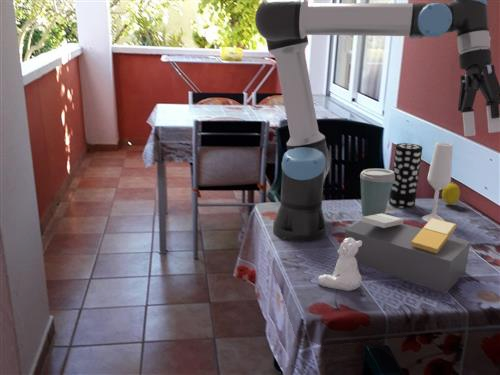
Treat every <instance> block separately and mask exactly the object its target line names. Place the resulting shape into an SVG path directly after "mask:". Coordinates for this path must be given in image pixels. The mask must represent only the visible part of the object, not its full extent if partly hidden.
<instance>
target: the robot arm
mask: <svg viewBox="0 0 500 375" xmlns="http://www.w3.org/2000/svg"><path fill="white" fill-rule="evenodd" d="M488 7H489V6H488V1H487V0H452V1H450V2H445V3H442V2H437V1H436V2H431V3H430V2H429V3H427V2H426V3H425V2H424V3H411V2H410V3H405V2H404V3H402V2H401V3H399V2H398V3H397V2H396V3H394V2H393V3H392V2H391V3H384V2H383V3H380V2H379V3H377V2H376V3H375V2H373V3H372V2H371V3H368V2H367V3H366V2H365V3H364V2H363V3H361V2H359V3H358V2H356V3H355V2H354V3H352V2H351V3H349V2H348V3H347V2H346V3H345V2H343V3H342V2H341V3H340V2H339V3H337V2H335V3H334V2H332V3H331V2H329V3H327V2H323V3H322V2H321V3H320V2H313V3H311V2H308V1H307V0H263V1H261V2H260V4H259V6H258V7H257V10H256V11H255V16H254V21H255V22H254V23H255V27H256V30H257V32H258V33H259V35H260V36H261V37H263V38H264V39H265V41H266V45H267V46H266V47H267V50H268V53H270V54H271V55H272V56H273V57H274V59H275V64H276V69H277V76H278V79H279V85H280V91H281V94H282V95H281V96H282V101H283V105H284V110H285V115H286V116H285V117H286V123H287V126H288V131H289V139H288V141H286V149H287V151H286V152H284V153H283V156H282V161H281V184H280V188H281V189H280V205H279V207H278V210H277V212H276V215H275V218H274V221H273V227H272V230H273V233H274V234H275V235H276V236H277V237H279V238H281V239H284V240H287V241H291V242H292V241H293V242H303V243H305V242H306V243H307V242H308V243H309V242H314V241H318V240H321V239H323V238H324V237H325V236H326V235H327V223H326V219H325V214H324V211H323V196H324V194H323V193H324V183H325V179H326V177H327V175H328V173H329V172H330V169H331V165H332V156H331V153H330V151H329V149H328V146H327V141H326V136H325V135H324V134H323V133H322V132H320V131H319V125H318V121H317V114H316V109H315V108H316V107H315V104H314V97H313V92H312V87H311V81H310V75H309V74H310V73H309V70H308V63H307V58H306V53H305V52H306V51H305V50H306V48H307V46H308V44H309V38H308V36H312V35H313V36H366V37H367V36H368V37H369V36H372V37H373V36H374V37H381V36H383V37H409V38H410V39H422V38H426V37H427V38H439V37H441V36H442V35H444V34H448V33H454V32H456V36H457V38H456V40H457V50H458V53H459V56H458V61H459V69H460V70H465V71H466V73H465V74H463V75H460V77H459V78H460V79H459V80H460V87H459V96H458V104H457V106H458V107H457V111H458V112H460V113H461V114H462V122H463V123H462V124H463V135H464V137H473V136H476V124H475V113H474V112H475V109H474V108H473V107H474V103H475V100H476V96H477V92H478V91H479V90H480V92H481V94H482V95H483V97H484V99H485V102H486V103H485V106H486V117H487V129H488V133H489V134H491V133H500V83H499V82H500V81H499V80H498V77H497V74H496V70H495V65H494V64H492V63H493V60H492V51H491V49H490V48H491V40H492V37H491V36H490V26H489V12H488Z"/></svg>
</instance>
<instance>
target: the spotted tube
mask: <svg viewBox="0 0 500 375" xmlns="http://www.w3.org/2000/svg"><path fill="white" fill-rule="evenodd" d="M394 147H395V149H394V156H393V157H394V158H393V167H392V171H394V175H395V181H394V182H393V185H392V189H391V192H390V196H389V199H388V204H389V205H390V206H392V207H394V208H398V209H412V208H415V206H416V205H415V204H416V197H417V191H418V184H419V177H420V176H419V175H420V169H421V161H422V154H423V146H421V145H420V144H415V143H404V142H403V143H396V144H395V146H394Z"/></svg>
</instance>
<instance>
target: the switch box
mask: <svg viewBox="0 0 500 375" xmlns="http://www.w3.org/2000/svg"><path fill="white" fill-rule="evenodd" d="M422 228H423V227H422ZM422 228H421V227H418V226H414V225H410V224H406V223H403V224H400V225H396V226H391V227H386V228H382V227H379V226H375V225H372V224H368V223H365V222H361V220H360V221H357V222H356V223H355V224H353V225H351V226H349V227H348V228H346V229H345V230H344V231H345V232H344V239H345V238H349V237H351V238H353V239H354V240H355V241H362V246H361V247H358V252H357V254H356V255H355V256H354V257H355V258H356V260H357V264H358V265H360V266H363V267H366V268H370V269H372V270H374V271H379V272H381V273H384V274H387V275H389V276H392V277H395V278H398V279H400V280H404V281H407V282H411V283H412V284H416V285H419V286H421V287H424V288H427V289H431V290H433V291H436V292H439V293H443V294H444V295H446V294H447V293H448V292H449V290H450V289H451V288H452V287H453V286H454V285H455V284H456V283H457V282H458V281H459V279H461V277H463V275H464V274H465V273H466V271H467V270H466V269H467V264H468V258H469V254H470V248H471V241H468V240H465V239H461V238H458V237H454V236H452V235H451V236H450V237H449V238H448V240H447V241H446V242H445V244H444V245H443V246H442V248H441V249H440V250H439V251H438V253H434V252H430V251H427V250H424V249H420V248H417V247H414V246H411V241H412V240H413V239H414V238H415V237H416V235H417V234H418V233H419V232H420V231H421V230H422Z"/></svg>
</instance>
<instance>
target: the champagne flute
mask: <svg viewBox="0 0 500 375" xmlns="http://www.w3.org/2000/svg"><path fill="white" fill-rule="evenodd" d="M453 145H454V144H453V143H450V142H443V141H438V142H435V145H434V149H433V153H432V158H431V160H430V161H431V162H430V165H429V170H428V173H427V174H428V175H427V177H426V178H427V179H426V180H427V182H428V184H429V185H430V186H431V187H432V188H433V189H434V196H433V197H434V198H433V203H432V209H431V210H432V211H431V213H428V214H426V215H423V216H422V217H421V220H423V221H424V222H427V223H428V221H429V220H430V219H431V218H435V219H439V220H443V221H445V219H444V218H442V217H441V216H439V215H438V214H437V207H438V202H439V195H440V191H441V190H443V189H444V187H446V186H447V185H448V184H449V183H452V166H453V147H454V146H453Z"/></svg>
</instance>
